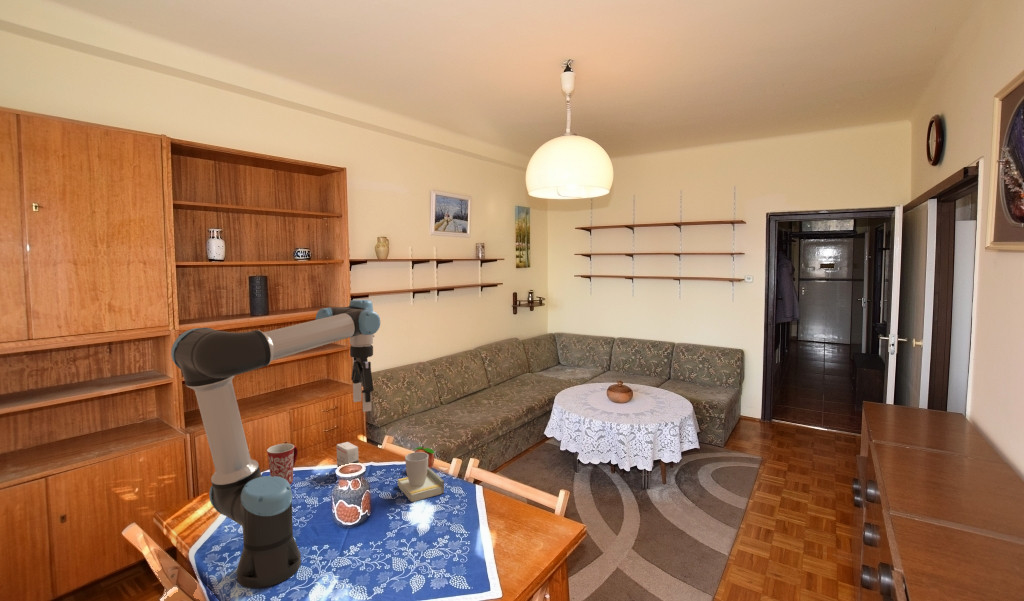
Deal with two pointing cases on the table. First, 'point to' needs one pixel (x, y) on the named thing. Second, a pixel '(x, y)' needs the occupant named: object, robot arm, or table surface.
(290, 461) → the mug
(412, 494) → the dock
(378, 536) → the table surface
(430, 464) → the fruit
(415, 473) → the cup
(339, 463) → the ink box
